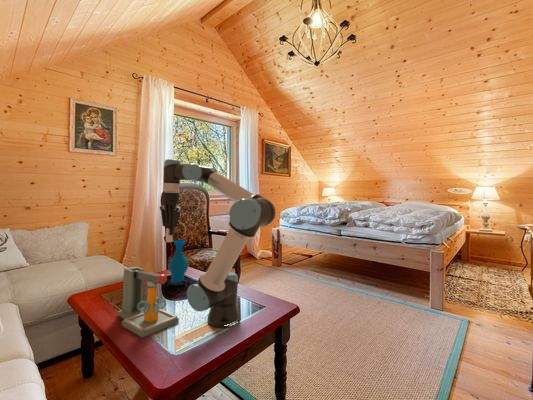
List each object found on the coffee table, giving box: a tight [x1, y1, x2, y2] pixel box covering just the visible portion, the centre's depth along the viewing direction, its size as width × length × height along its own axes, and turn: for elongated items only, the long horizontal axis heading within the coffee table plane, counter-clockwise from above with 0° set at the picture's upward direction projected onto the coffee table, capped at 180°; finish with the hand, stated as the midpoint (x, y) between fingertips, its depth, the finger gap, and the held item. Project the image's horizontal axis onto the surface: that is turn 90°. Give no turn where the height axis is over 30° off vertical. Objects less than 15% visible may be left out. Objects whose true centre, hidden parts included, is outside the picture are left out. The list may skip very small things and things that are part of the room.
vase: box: [168, 239, 189, 286], centre depth 183 cm, size 12×13×28 cm
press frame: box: [117, 266, 180, 338], centre depth 129 cm, size 27×18×22 cm, turn 55°
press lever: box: [133, 270, 168, 289], centre depth 127 cm, size 24×5×6 cm, turn 56°
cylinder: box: [137, 286, 167, 322], centre depth 126 cm, size 12×10×15 cm
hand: (169, 241), depth 133 cm, fingers closed
